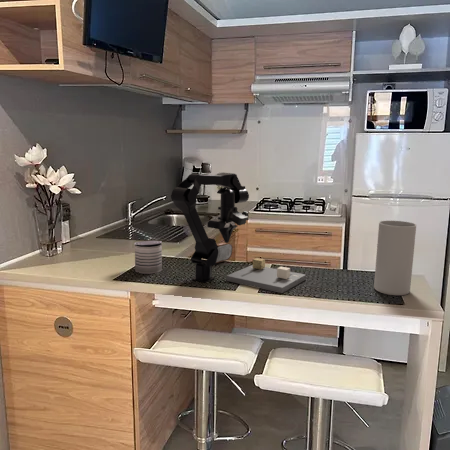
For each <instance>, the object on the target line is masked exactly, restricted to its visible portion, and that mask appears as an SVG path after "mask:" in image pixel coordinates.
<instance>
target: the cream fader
mask: <svg viewBox="0 0 450 450" xmlns="http://www.w3.org/2000/svg"><path fill="white" fill-rule="evenodd" d="M276 269H277V277H279V278H284V279H287V278H289V277H290V272H291V268H290V267H286V266H285V267H284V266H278V267H277V268H276Z"/></svg>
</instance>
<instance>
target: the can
mask: <svg viewBox="0 0 450 450" xmlns="http://www.w3.org/2000/svg"><path fill="white" fill-rule="evenodd" d="M162 243H163V242H162V240H142V241H135V242H133V245H134V271H135V272H136V273H138V272H139V274H147V275H148V274H150V275H151V274H157V273H160V272H161V271H163V260H162V259H163V254H162V253H163V252H162V251H163V248H162V247H163V246H162Z"/></svg>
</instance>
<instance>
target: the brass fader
mask: <svg viewBox="0 0 450 450" xmlns="http://www.w3.org/2000/svg"><path fill="white" fill-rule="evenodd" d="M252 265H253V268H256V269H263V268H265V267H266V259H264V258H259V257H256V258H252Z"/></svg>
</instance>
